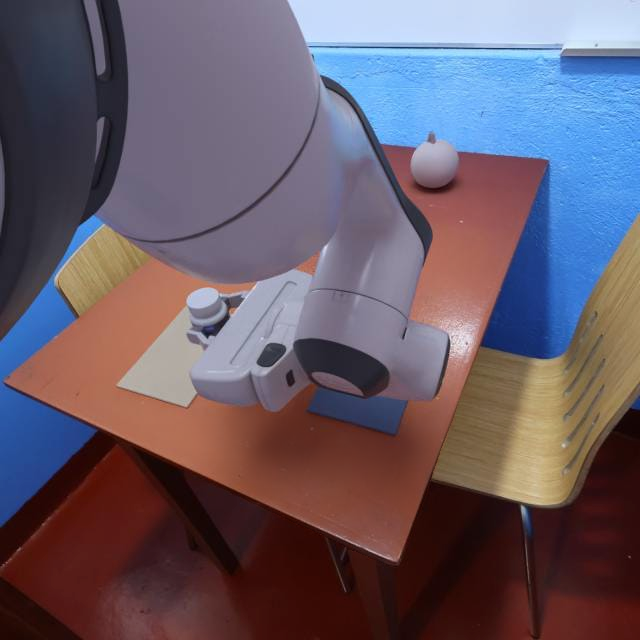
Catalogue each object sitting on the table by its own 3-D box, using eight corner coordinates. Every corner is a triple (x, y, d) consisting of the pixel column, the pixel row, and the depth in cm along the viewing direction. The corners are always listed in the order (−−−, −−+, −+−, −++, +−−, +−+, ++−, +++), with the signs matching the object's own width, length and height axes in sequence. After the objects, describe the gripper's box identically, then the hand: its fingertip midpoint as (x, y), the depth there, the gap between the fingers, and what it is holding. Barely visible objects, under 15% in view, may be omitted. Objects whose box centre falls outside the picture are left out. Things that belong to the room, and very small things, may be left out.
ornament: (402, 189, 109) (401, 138, 101) (427, 170, 114) (428, 120, 106) (441, 200, 103) (443, 147, 95) (465, 180, 108) (469, 128, 100)
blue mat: (395, 435, 62) (395, 434, 62) (306, 411, 67) (306, 409, 67) (425, 350, 72) (425, 348, 72) (346, 334, 77) (346, 332, 77)
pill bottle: (210, 364, 59) (188, 316, 54) (199, 342, 63) (177, 295, 57) (244, 348, 61) (227, 299, 55) (232, 328, 64) (214, 279, 58)
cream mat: (187, 408, 70) (186, 407, 70) (116, 387, 75) (115, 385, 75) (251, 319, 83) (251, 317, 83) (187, 306, 88) (186, 304, 88)
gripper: (334, 262, 58) (239, 248, 63) (255, 387, 45) (143, 357, 50) (339, 300, 62) (250, 285, 67) (269, 425, 49) (165, 394, 54)
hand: (204, 316), depth 59 cm, fingers closed on pill bottle, 5 cm apart
